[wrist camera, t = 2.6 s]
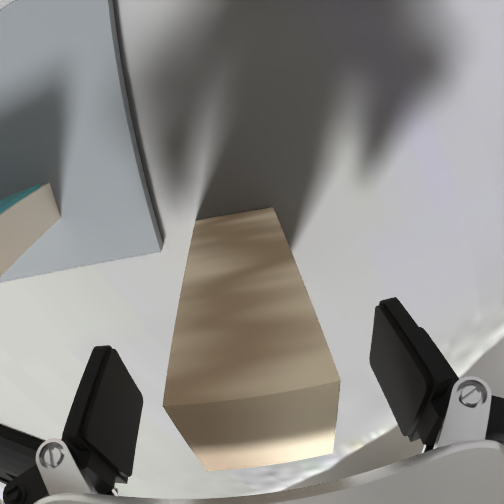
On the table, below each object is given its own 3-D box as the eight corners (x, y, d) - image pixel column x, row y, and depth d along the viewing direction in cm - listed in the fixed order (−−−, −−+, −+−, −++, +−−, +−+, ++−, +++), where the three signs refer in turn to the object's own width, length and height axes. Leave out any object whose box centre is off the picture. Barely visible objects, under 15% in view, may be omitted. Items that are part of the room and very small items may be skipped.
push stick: (273, 207, 16) (340, 380, 6) (281, 273, 18) (332, 452, 8) (195, 220, 16) (162, 405, 6) (211, 285, 18) (206, 471, 8)
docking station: (-91, 381, 24) (-102, 399, 20) (72, 439, 27) (63, 474, 23) (-25, 456, 36) (-30, 472, 31) (133, 503, 38) (131, 526, 34)
